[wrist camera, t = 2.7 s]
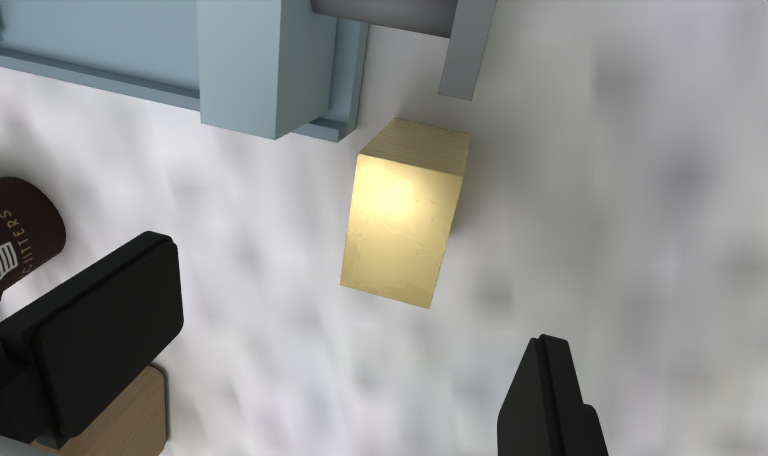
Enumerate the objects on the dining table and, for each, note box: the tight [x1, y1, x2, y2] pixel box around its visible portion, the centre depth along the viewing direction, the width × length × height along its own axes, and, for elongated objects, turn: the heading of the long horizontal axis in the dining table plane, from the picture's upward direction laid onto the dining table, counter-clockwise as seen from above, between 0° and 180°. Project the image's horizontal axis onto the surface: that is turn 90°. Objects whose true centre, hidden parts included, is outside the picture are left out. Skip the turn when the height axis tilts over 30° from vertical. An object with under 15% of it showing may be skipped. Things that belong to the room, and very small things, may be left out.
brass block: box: [340, 118, 471, 309], centre depth 20 cm, size 4×6×7 cm, turn 171°
